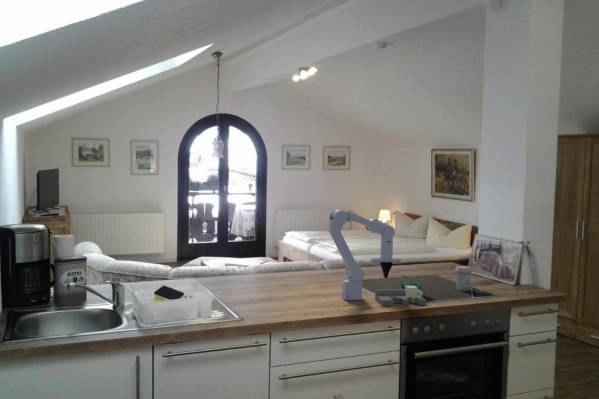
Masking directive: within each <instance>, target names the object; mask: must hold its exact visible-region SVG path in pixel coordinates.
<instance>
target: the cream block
mask: <svg viewBox="0 0 599 399" xmlns="http://www.w3.org/2000/svg"><path fill="white" fill-rule="evenodd" d="M417 290H418V288H417V287H415V286H405V296H407V297H417Z"/></svg>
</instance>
